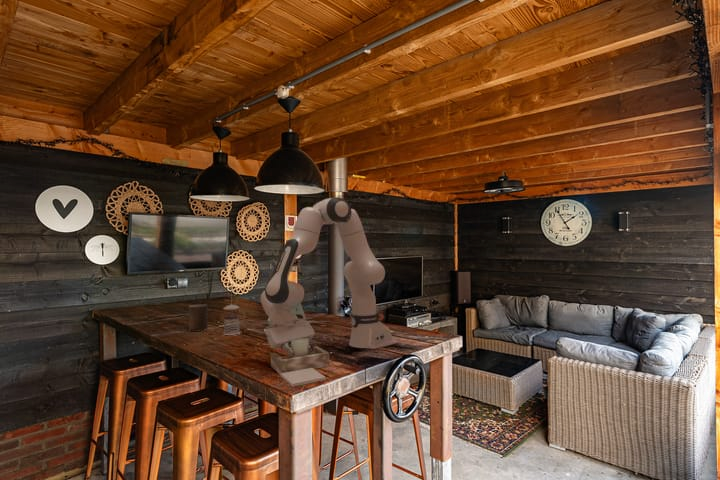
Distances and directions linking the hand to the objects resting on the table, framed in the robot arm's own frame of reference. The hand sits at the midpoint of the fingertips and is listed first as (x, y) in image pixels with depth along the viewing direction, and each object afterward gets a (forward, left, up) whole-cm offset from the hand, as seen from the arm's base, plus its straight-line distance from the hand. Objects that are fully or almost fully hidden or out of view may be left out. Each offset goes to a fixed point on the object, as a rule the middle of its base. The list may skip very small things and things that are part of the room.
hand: (300, 351), depth 148 cm
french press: (+10, -71, -6) cm, 72 cm away
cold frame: (0, 0, -6) cm, 6 cm away
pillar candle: (+25, -91, -6) cm, 95 cm away
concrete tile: (+4, +13, -6) cm, 15 cm away
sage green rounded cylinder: (0, -1, -6) cm, 6 cm away
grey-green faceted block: (-12, -49, -6) cm, 51 cm away
